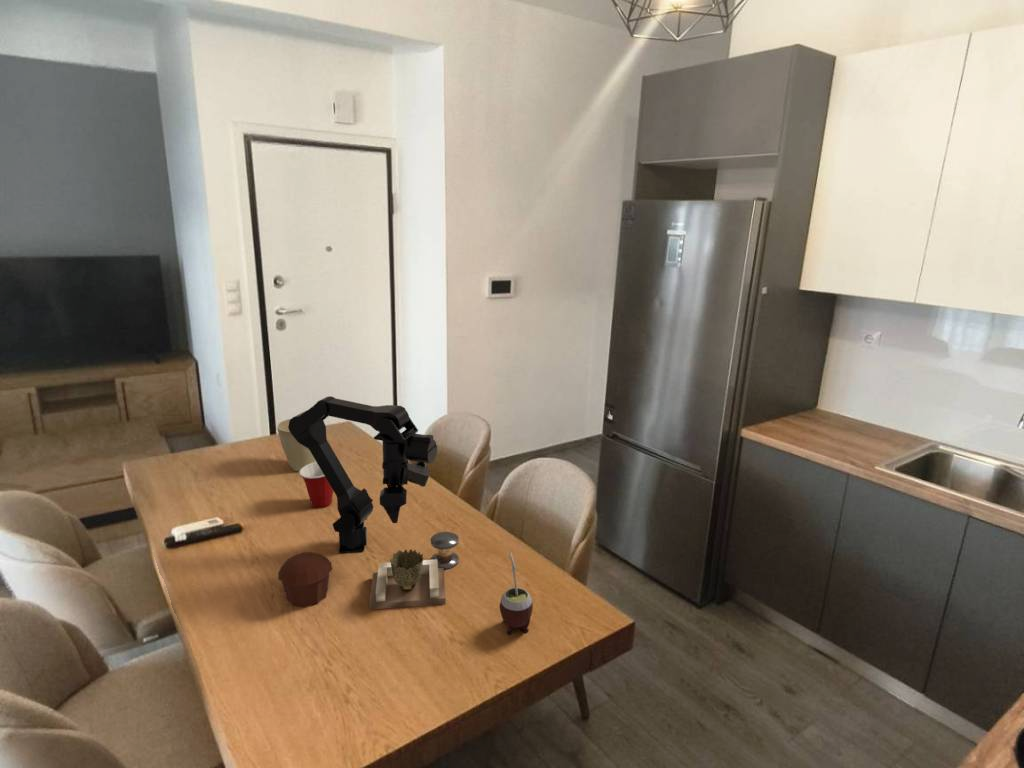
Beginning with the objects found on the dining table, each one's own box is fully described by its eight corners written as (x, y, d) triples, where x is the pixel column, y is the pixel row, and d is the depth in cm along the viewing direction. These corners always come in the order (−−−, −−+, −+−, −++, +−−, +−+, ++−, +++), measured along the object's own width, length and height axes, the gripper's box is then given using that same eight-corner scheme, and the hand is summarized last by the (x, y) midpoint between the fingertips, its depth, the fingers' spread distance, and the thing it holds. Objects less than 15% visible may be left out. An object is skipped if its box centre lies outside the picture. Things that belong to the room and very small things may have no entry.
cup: (416, 599, 132) (416, 569, 130) (386, 595, 133) (385, 564, 131) (428, 580, 139) (427, 551, 137) (398, 576, 140) (397, 546, 138)
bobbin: (431, 570, 146) (430, 547, 144) (430, 554, 152) (430, 532, 150) (459, 568, 147) (459, 545, 145) (457, 553, 153) (457, 531, 151)
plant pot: (318, 477, 195) (314, 432, 191) (273, 475, 195) (269, 431, 191) (332, 459, 209) (329, 417, 205) (290, 458, 209) (287, 416, 205)
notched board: (369, 609, 131) (368, 594, 130) (373, 577, 142) (372, 563, 141) (445, 603, 133) (445, 588, 132) (443, 573, 145) (443, 558, 143)
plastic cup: (297, 501, 178) (294, 465, 175) (331, 492, 184) (329, 457, 181) (309, 516, 170) (306, 478, 167) (345, 506, 176) (342, 469, 173)
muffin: (336, 578, 141) (334, 542, 139) (331, 608, 131) (328, 569, 128) (285, 582, 139) (281, 545, 137) (275, 613, 129) (271, 573, 126)
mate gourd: (521, 642, 122) (523, 580, 118) (489, 628, 126) (490, 567, 122) (538, 622, 128) (541, 562, 124) (508, 609, 132) (509, 550, 128)
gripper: (427, 472, 136) (427, 531, 141) (428, 442, 154) (428, 495, 158) (378, 473, 135) (380, 533, 139) (385, 442, 153) (386, 496, 157)
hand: (396, 513), depth 149 cm, fingers open, 9 cm apart
